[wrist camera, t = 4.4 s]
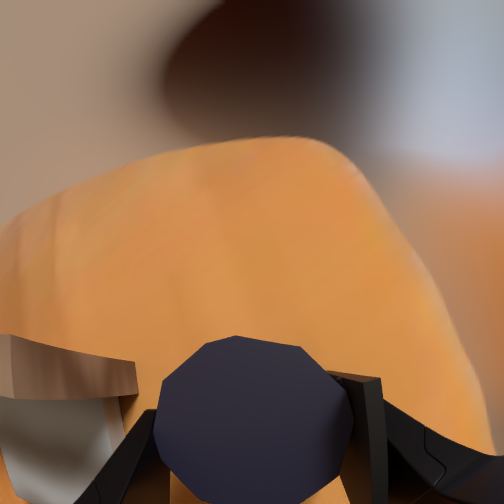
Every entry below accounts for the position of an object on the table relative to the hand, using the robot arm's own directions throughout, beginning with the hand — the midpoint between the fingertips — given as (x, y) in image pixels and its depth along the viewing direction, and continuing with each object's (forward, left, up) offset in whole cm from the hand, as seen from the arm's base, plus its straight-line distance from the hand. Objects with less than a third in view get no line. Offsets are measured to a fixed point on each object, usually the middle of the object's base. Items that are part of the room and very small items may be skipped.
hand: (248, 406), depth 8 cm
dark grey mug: (-2, -1, -7) cm, 7 cm away
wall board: (-5, +14, -7) cm, 16 cm away
